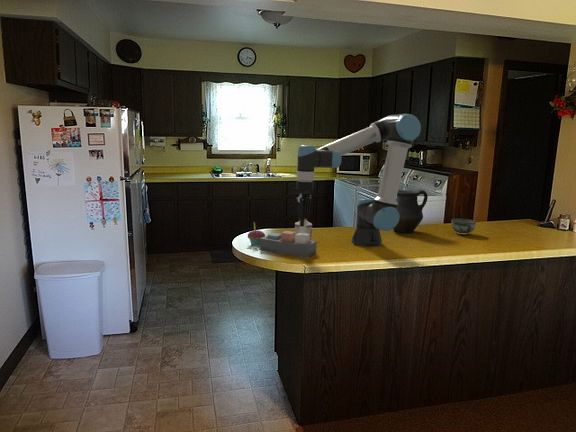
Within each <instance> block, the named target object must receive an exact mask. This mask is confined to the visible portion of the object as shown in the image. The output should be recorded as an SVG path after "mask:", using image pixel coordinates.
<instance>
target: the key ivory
mask: <svg viewBox="0 0 576 432" xmlns="http://www.w3.org/2000/svg"><path fill="white" fill-rule="evenodd" d="M295 243H299V244H305V245H307V244H309V243H310V234H306V233H305V234H303V233H298V234H296V235H295Z"/></svg>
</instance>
